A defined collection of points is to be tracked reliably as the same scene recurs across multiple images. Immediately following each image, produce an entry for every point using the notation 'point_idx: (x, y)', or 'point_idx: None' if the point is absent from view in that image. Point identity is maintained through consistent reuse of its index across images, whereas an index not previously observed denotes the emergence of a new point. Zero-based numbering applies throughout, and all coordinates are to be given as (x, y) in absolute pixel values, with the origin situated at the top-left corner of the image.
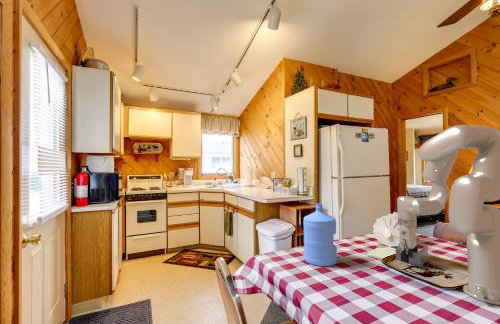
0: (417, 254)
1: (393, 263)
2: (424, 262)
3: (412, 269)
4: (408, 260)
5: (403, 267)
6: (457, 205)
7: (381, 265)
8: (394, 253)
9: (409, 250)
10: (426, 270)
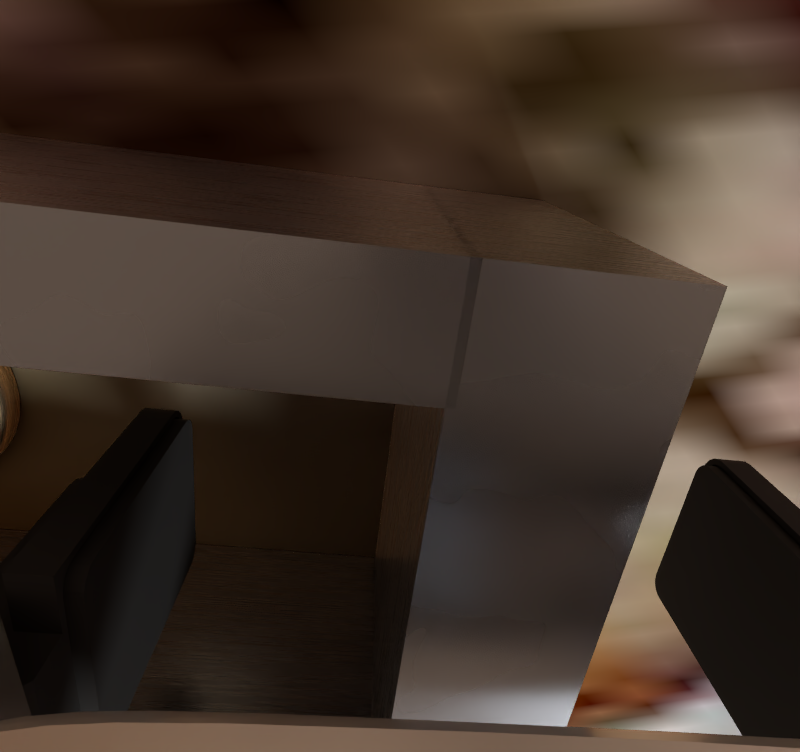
0: (668, 384)
1: None
2: (153, 155)
3: (763, 334)
4: (771, 492)
5: None
6: None
7: None
8: None
9: (404, 666)
10: (691, 63)
